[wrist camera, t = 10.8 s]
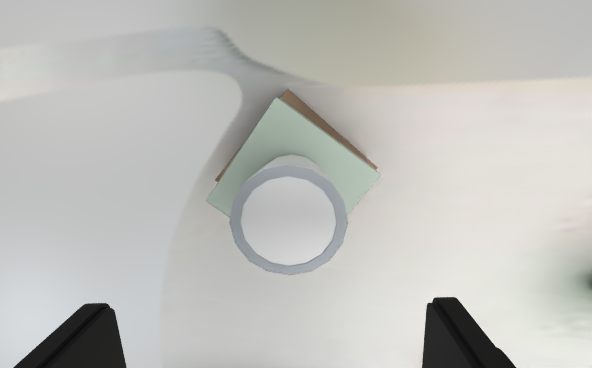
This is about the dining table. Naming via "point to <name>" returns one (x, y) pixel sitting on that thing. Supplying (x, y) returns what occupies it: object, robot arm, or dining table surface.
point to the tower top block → (298, 141)
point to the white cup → (288, 216)
